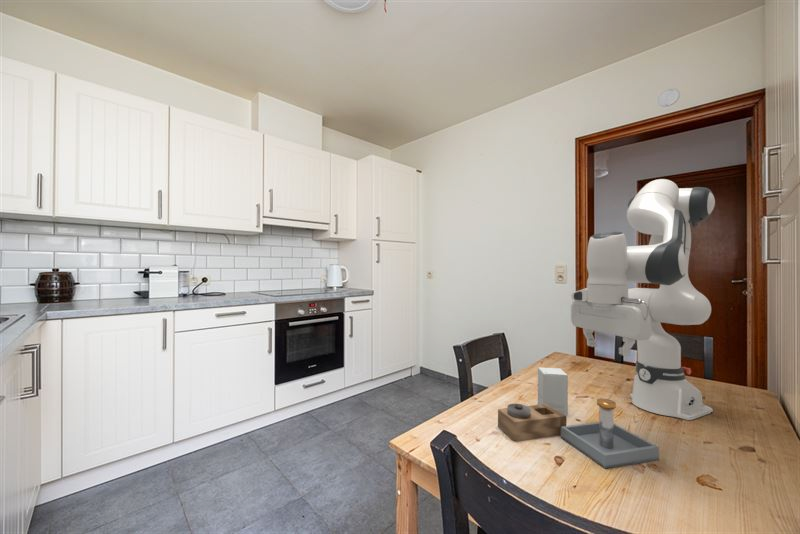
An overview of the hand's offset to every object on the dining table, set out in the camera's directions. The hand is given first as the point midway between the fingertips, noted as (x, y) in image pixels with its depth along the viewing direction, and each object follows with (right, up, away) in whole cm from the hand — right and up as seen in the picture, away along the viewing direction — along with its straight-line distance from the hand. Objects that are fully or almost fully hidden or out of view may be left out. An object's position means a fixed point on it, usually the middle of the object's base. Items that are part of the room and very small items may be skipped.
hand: (607, 350), depth 80 cm
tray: (0, -24, 0) cm, 24 cm away
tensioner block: (-16, -24, +8) cm, 30 cm away
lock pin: (0, -24, 0) cm, 24 cm away
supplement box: (-4, -25, +22) cm, 33 cm away
